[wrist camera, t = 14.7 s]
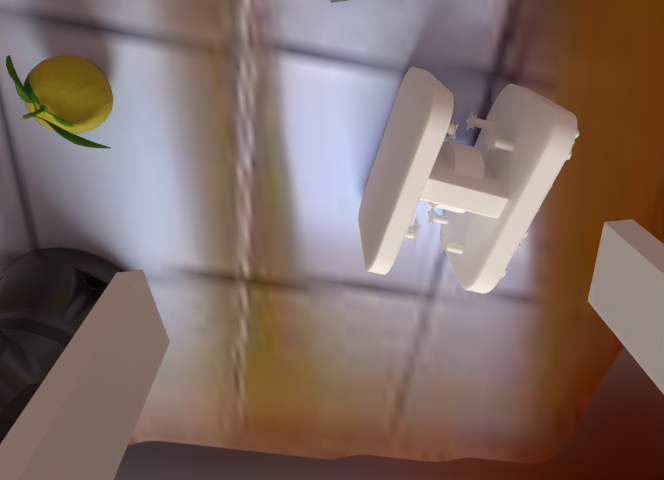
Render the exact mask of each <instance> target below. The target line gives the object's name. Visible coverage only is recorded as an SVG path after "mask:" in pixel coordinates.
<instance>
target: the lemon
mask: <svg viewBox="0 0 664 480" xmlns="http://www.w3.org/2000/svg"><path fill="white" fill-rule="evenodd" d="M6 66H7V69H8V72H9V74H10V76H11V78H12V79H13V80H14V82H15V86H16V90H17V93H18V95H19V96H20V97H21V99H22V100H24V101H25V105H26V107H27V109H28V110H29V112H30V113H29V114H26V115H24V116H23V119H27V118H29V117H34V118H35V119H36V120H37V121H38V122H39V123H40V124H42V125H44V126H45V127H47V128H48V129H51V130H54V131H56V132H57V133H58V134H59V135H61V136H62V137H64V138H65V139H67V140H69V141H71V142H73V143H74V144H77V145H81V146H85V147H91V148H110V147H107V146H103V145H100V144H97V143H94V142H91V141H89V140H86V139H84V138H81V137H79V136H77V135H74V134H79V133H83V132H86V131H90V130H92V129H94V128H96V127H97V126H99V125H100V124H101V123H103V122H104V121H105V120H106V118H107V117H108V115H109V113H110V112H111V110H112V105H113V95H112V90H111V87H110V85H109V83H108V81H107V79H106V77H105V76H104V75H103V73H102V72H101V71H100V69H99V68H98V67H96V66H95V65H94V64H92V63H91V62H90V61H88V60H85V59H82V58H80V57H76V56H57V57H53V58H50V59H46V60H44V61H42V62H40V63H39V64H38V65H37V66H36V67H35V68H33V69H32V70H31V71H30V73H29V74H28V76H27V78H26V80H25V82H24V86H23V85H22V83H21V82H20V80H19V78H18V76H17V74H16V71H15V69H14V67H13V64H12V61H11V57H10V55H9V56H7V58H6Z"/></svg>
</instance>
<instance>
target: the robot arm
mask: <svg viewBox="0 0 664 480" xmlns="http://www.w3.org/2000/svg"><path fill="white" fill-rule="evenodd" d="M588 302H589V303H590V304H591V306H592V307H593V308H594V309H595V311H596V312H597V313H598V314H599V315H600V317H601V318H602V319H603V320H604V322H605V323H606V324H607V325H608V326H609V328H610V329H611V330H612V331H613V333H614V334H615V335H616V336H617V338H618V339H619V340H620V341H621V342H622V344H623V345H624V346H625V347H626V349H627V350H628V351H629V352H630V353H631V355H632V356H633V357H634V358H635V360H636V361H637V362H638V363H639V365H640V366H641V367H642V368H643V369H644V371H645V372H646V373H647V374H648V376H649V377H650V378H651V379H652V381H653V382H654V383H655V384H656V385H657V387H658V388H659V389H660V390H661V391H662V392H663V394H664V244H663V243H662V242H660V241H659V240H658V239H656V238H655V237H654V236H653V235H651V234H650V233H649V232H648V231H646V230H645V229H644V228H643V227H641V226H640V225H639V224H638V223H636V222H635V221H634V220H622V221H613V222H604V227H603V232H602V236H601V241H600V246H599V250H598V255H597V260H596V264H595V269H594V274H593V278H592V283H591V288H590V292H589V297H588ZM169 342H170V341H169V339H168V336H167V333H166V331H165V328H164V325H163V323H162V320H161V317H160V315H159V312H158V309H157V307H156V304H155V301H154V299H153V296H152V293H151V291H150V288H149V285H148V283H147V280H146V277H145V275H144V272H143V270H137V271H127V272H123V271H122V270H120V269H119V268H117V267H116V266H114V265H113V264H111V263H109V262H108V261H106V260H104V259H102V258H100V257H97V256H95V255H92V254H89V253H86V252H82V251H78V250H73V249H65V248H49V249H42V250H37V251H34V252H31V253H28V254H26V255H24V256H22V257H20V258H18V259H17V260H16V261H15V262H13V263H12V264H11V265H10V266H9V267H8V268H7V269H6V270H5V271H4V272H3V273H2V274H1V275H0V480H113V479H114V477H115V474H116V472H117V469H118V467H119V465H120V462H121V459H122V457H123V455H124V452H125V450H126V448H127V445H128V443H129V440H130V438H131V435H132V433H133V430H134V428H135V425H136V423H137V421H138V418H139V416H140V413H141V411H142V408H143V406H144V403H145V401H146V398H147V396H148V394H149V391H150V389H151V386H152V384H153V381H154V379H155V376H156V374H157V371H158V369H159V367H160V364H161V362H162V359H163V357H164V354H165V352H166V349H167V347H168V344H169Z"/></svg>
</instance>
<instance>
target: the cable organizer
mask: <svg viewBox="0 0 664 480" xmlns="http://www.w3.org/2000/svg"><path fill="white" fill-rule="evenodd" d="M453 108H454V96H453V94H452V92H450V91H449V90H448V89H447V88H446V87H445V86H444V85H443V84H442V83H441V82H440V81H439V80H437V79H436V78H435V77H434V76H433V75H432V74H431V73H430V72H429V71H426V70H423V69H419V68H416V67H413V66H412V67H410V68H409V70H408V71H407V73H406V74H405V76H404V78H403V80H402V83H401V85H400V88H399V91H398V93H397V96H396V99H395V102H394V105H393V108H392V111H391V114H390V117H389V120H388V123H387V126H386V129H385V132H384V135H383V138H382V141H381V144H380V147H379V150H378V153H377V156H376V158H375V161H374V164H373V167H372V170H371V173H370V176H369V179H368V182H367V185H366V188H365V191H364V194H363V197H362V201H361V205H360V209H359V217H358V221H359V228H360V235H361V241H362V248H363V254H364V261H365V267H366V270H367V271H369V272H374V273H378V274H383V275H384V274H387V273H388V272H389V270H390V269H391V267H392V266H393V264H394V262H395V259H396V257H397V254H398V252H399V249H400V247H401V245H402V242H403V240H404V237H407V238H410V240H409V243H410V242H411V241H412V239H413V241H414V242H416V238H417V234H418V231H419V228H420V225H421V224H418V222H417V217H416V220H415V222H414V225H413V226H411V227H410V229H408V227H409V225H410V222H411V220H412V217H413V215H414V213H415V210H416V208H417V205H418V203H419V200H424V201H428V203H429V204H430V205H431V206H432V208H431V211H428V214H429V220H428V223H429V222H430V221H431V222H432V223H433V221H434V222H438V223H441V228H440V241H441V244H442V246H441V252H442V251H443V250H444V251H445V252H446V254H447V255H448V257H449V260H450V262H451V264H452V266H453V269H454V271H455V273H456V275H457V277H458V280H459V282H460V284H461V286H462V288H463V289H465V290H469V291H474V292H478V293H483V294H484V293H488V292H489V291H491V290H492V289H493V288H494V287H495V286H496V284H497V283H498V281H499V280H500V278H503V277H504V276H505V274H506V272H507V270H506V267H507V265H508V264H509V262H510V260H511V258H512V256H513V255H514V253H515V251H517V247H519V248H521V247H522V246H521V245H520V242H521V240H522V238H523V237H525V238H526V236H527V234H528V227H529V226H530V224H531V222H532V220H533V218H534V217H535V215H536V213H537V211H539V207H540V206H541V204H542V202H543V200H544V198H545V197H546V195H547V193H548V191H549V189H550V188H552V184H553V182H554V180H555V178H556V177H557V175H558V173H559V171H560V169H561V168H562V166H563V164H564V162H565V160H569V159H570V157H571V154H572V152H571V148H572V146H573V144H574V143H575V141H574V140H575V138H577V137H578V135H579V130H578V129H577V119H576V116H575V115H574V114H573V113H571V112H570V111H568V110H566V109H564V108H562V107H561V106H559V105H557V104H555V103H554V102H552V101H550V100H548V99H546V98H545V97H543V96H541V95H539V94H537V93H536V92H534V91H532V90H530V89H528V88H524V87H521V86H518V85H514V84H508V85H507V86H505V87H504V88H503V89H502V91H501V92H500V93H499V95H498V96H497V98H496V99H495V101H494V103H493V105H492V107H491V109H490V112H489V114H488V116H487V118H486V120H482V119H479V118H476V117H477V115H475V116H473V112H472V111H471V115H470V118H468V119H467V120H465V121H466V122H467V124H468V126H467V131H468V129H469V128H470V127H471V128H473V129H474V126H475V127H478V128H482V130H481V132H480V134H479V136H478V139H477V141H476V143H475V145H474V147H472V146H468V145H463V144H458V143H454V142H449V140H450V139H451V138H453V139H454V140H455V131H456V130H457V128H458V126H459V124H456V125H455V122H454V118H453V122H452V124H450V122H451V118H452V114H453ZM467 131H466V132H467ZM446 134H449V136H448V141H444V139H445V136H446ZM443 141H444V142H443ZM433 207H437V208H441V209H445V210H446V211H445V213H444V216H442V215H438V214H436V211H433ZM408 245H409V244H408ZM441 252H440V253H441Z"/></svg>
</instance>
